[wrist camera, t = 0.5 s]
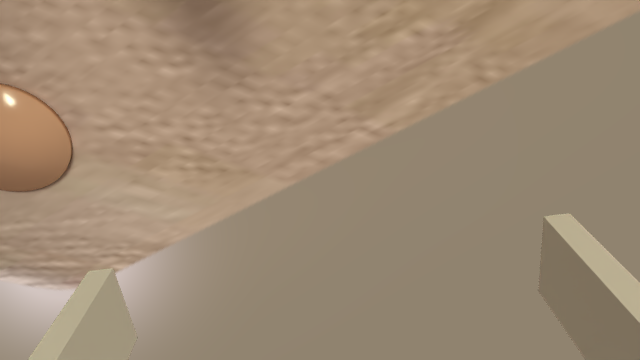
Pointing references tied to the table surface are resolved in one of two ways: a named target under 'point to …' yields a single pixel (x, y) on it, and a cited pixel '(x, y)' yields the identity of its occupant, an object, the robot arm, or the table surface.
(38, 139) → the coaster
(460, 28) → the table surface
